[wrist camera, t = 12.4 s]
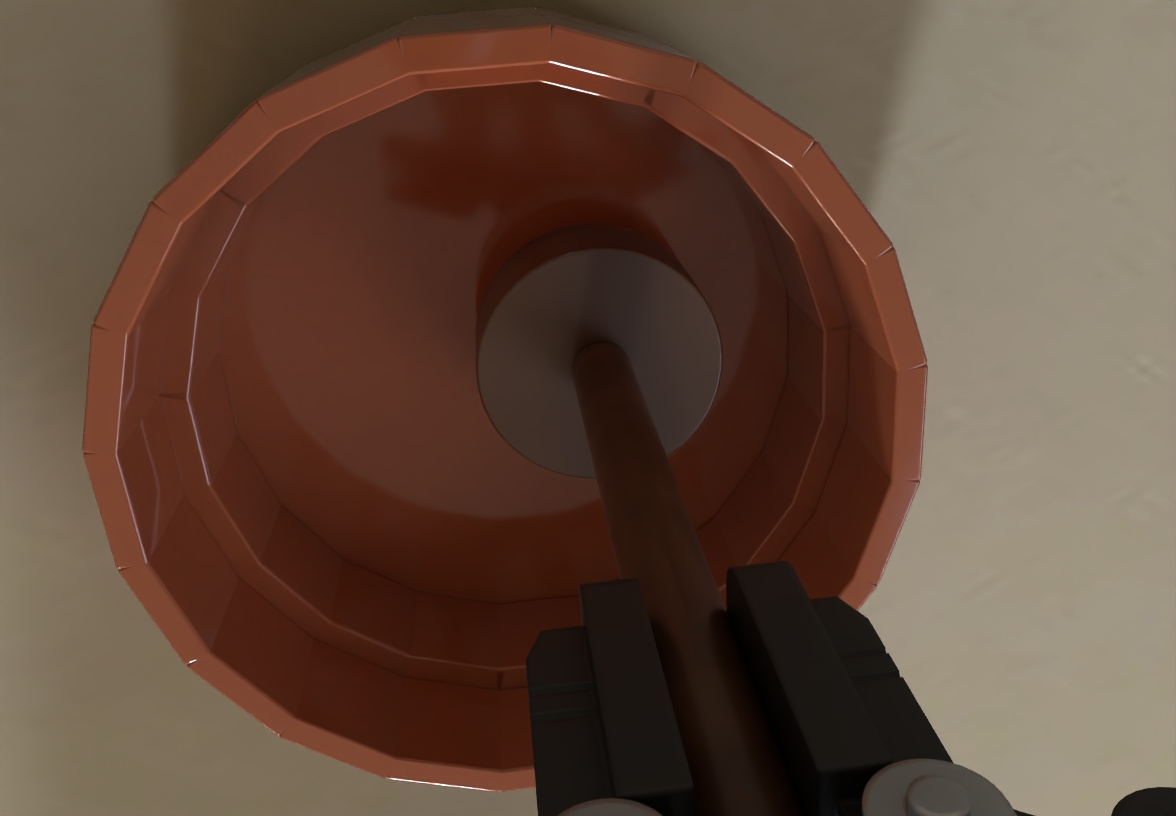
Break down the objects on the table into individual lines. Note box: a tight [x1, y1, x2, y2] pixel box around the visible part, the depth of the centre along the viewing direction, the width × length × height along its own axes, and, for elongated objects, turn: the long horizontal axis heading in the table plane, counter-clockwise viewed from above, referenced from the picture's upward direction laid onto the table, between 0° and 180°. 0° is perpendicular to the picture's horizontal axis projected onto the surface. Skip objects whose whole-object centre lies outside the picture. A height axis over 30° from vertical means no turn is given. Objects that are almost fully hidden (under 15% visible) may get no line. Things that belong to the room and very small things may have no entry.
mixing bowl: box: [82, 7, 928, 792], centre depth 22 cm, size 15×15×6 cm
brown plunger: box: [476, 223, 805, 816], centre depth 16 cm, size 5×5×16 cm
